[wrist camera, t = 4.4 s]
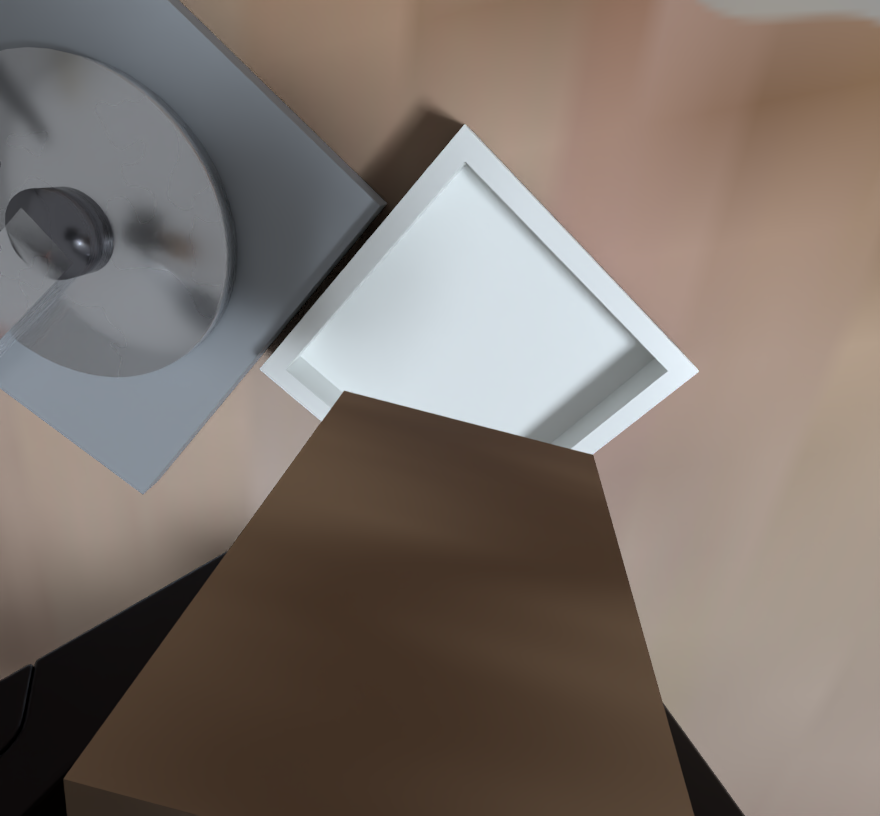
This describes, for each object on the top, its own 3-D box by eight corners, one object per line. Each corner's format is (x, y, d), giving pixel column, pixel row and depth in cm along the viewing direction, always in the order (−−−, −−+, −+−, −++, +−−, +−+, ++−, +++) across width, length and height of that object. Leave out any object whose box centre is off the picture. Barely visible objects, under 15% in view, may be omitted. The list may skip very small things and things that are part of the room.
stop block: (593, 455, 9) (733, 958, 3) (520, 637, 10) (531, 1171, 5) (344, 390, 9) (63, 777, 3) (311, 582, 10) (92, 1049, 5)
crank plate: (387, 203, 17) (352, 216, 13) (158, 480, 22) (88, 545, 18) (-113, -285, 13) (-348, -451, 10) (-242, 178, 18) (-425, 183, 15)
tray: (681, 351, 17) (699, 371, 16) (475, 517, 21) (472, 548, 19) (469, 127, 15) (464, 123, 14) (280, 351, 19) (259, 369, 17)
